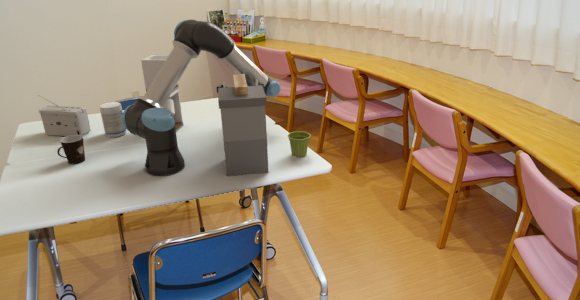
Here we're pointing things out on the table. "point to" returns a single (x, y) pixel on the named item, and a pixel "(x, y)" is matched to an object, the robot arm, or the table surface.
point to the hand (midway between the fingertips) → (240, 83)
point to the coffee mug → (73, 149)
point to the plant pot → (299, 143)
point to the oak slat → (240, 84)
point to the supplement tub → (112, 119)
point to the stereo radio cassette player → (65, 120)
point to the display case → (173, 103)
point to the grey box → (244, 130)
